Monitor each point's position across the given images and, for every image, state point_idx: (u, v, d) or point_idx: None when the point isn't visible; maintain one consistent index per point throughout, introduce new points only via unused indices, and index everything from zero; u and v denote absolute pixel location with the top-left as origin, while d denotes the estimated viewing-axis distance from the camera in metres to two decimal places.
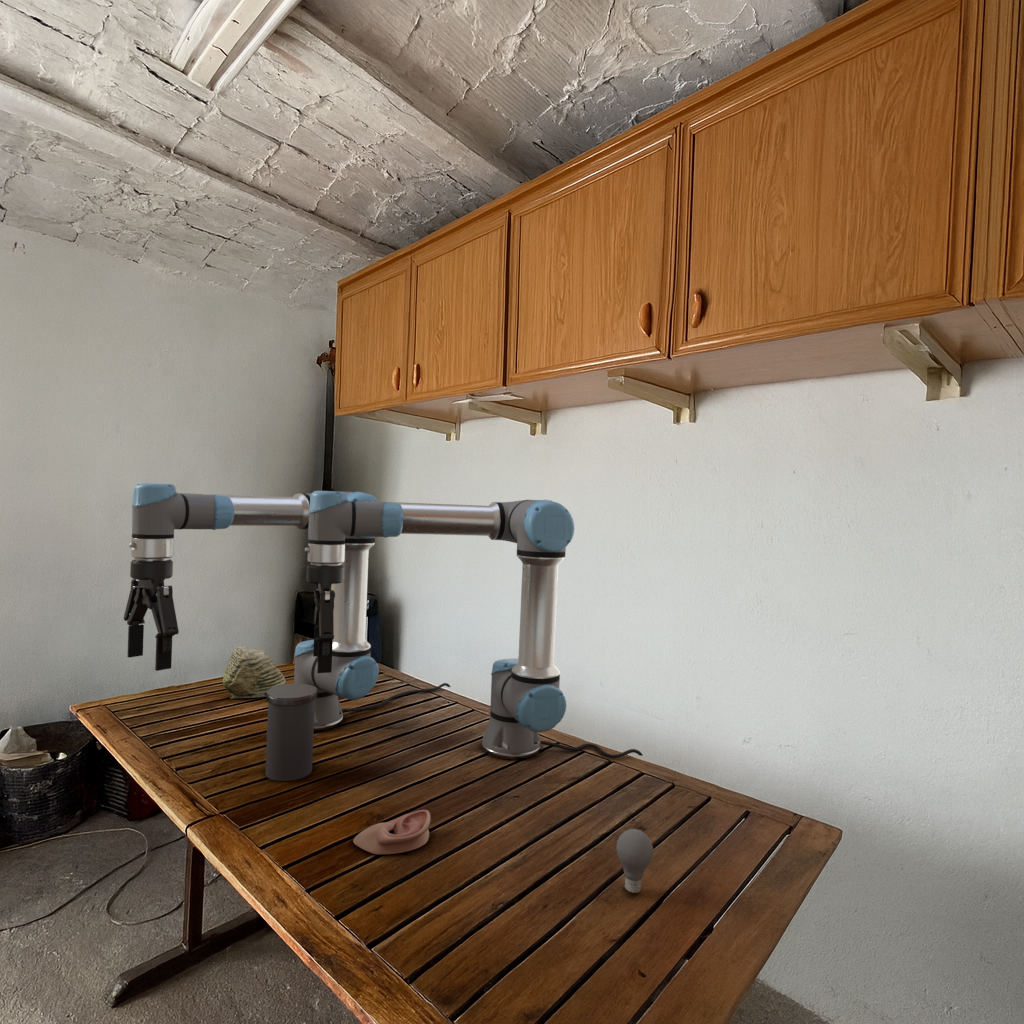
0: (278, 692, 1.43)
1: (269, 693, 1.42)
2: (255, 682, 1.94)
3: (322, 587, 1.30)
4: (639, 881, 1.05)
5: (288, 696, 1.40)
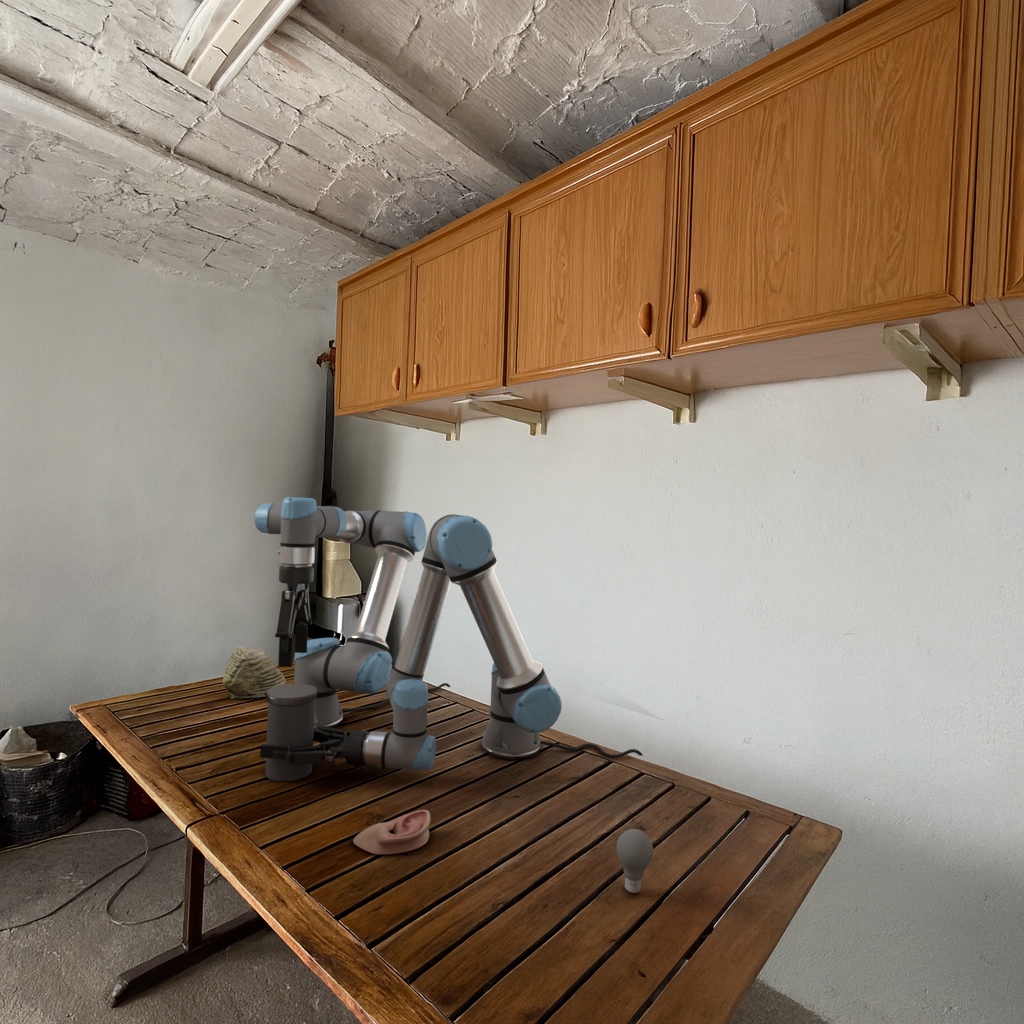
0: (278, 692, 1.43)
1: (269, 693, 1.42)
2: (255, 682, 1.94)
3: None
4: (639, 881, 1.05)
5: (288, 696, 1.40)
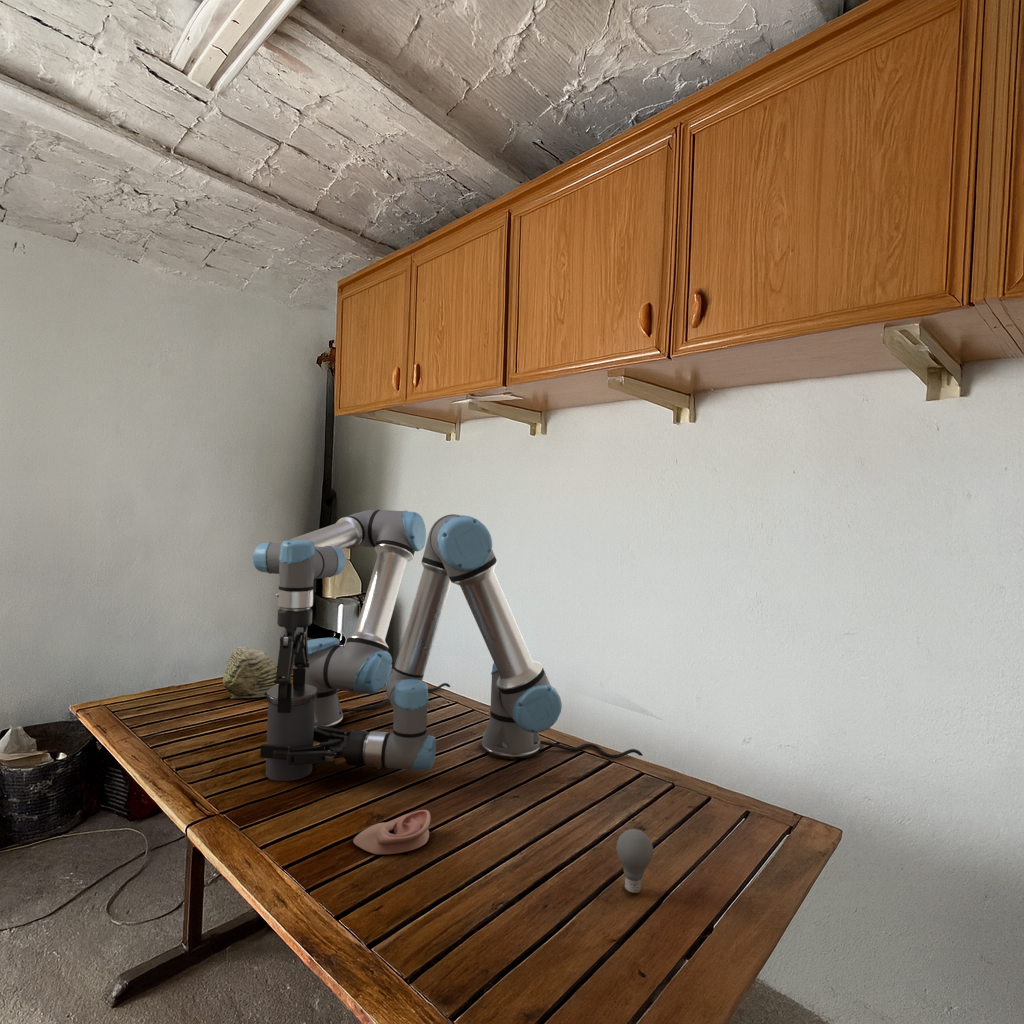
0: None
1: (269, 693, 1.42)
2: (255, 682, 1.94)
3: None
4: (639, 881, 1.05)
5: None
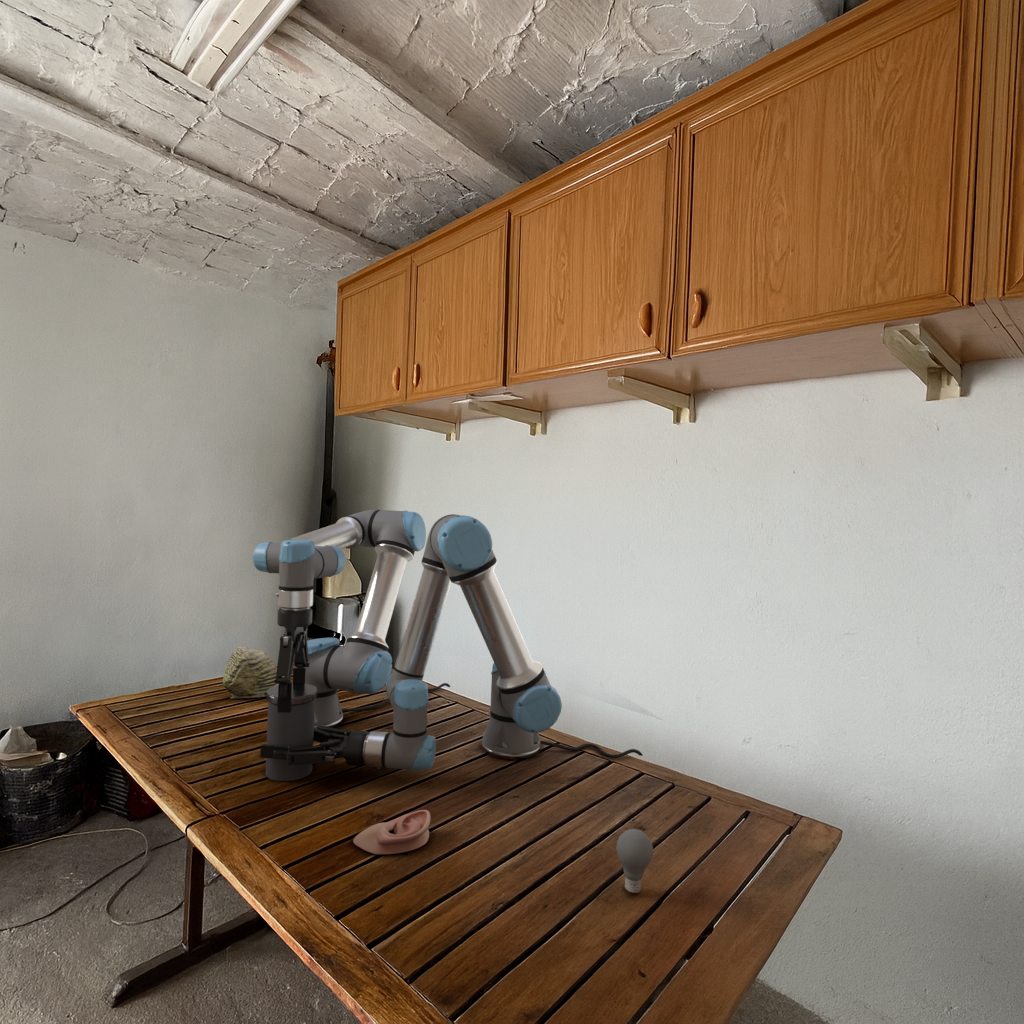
0: (296, 693, 1.42)
1: (297, 696, 1.41)
2: (255, 682, 1.94)
3: None
4: (639, 881, 1.05)
5: (311, 690, 1.45)
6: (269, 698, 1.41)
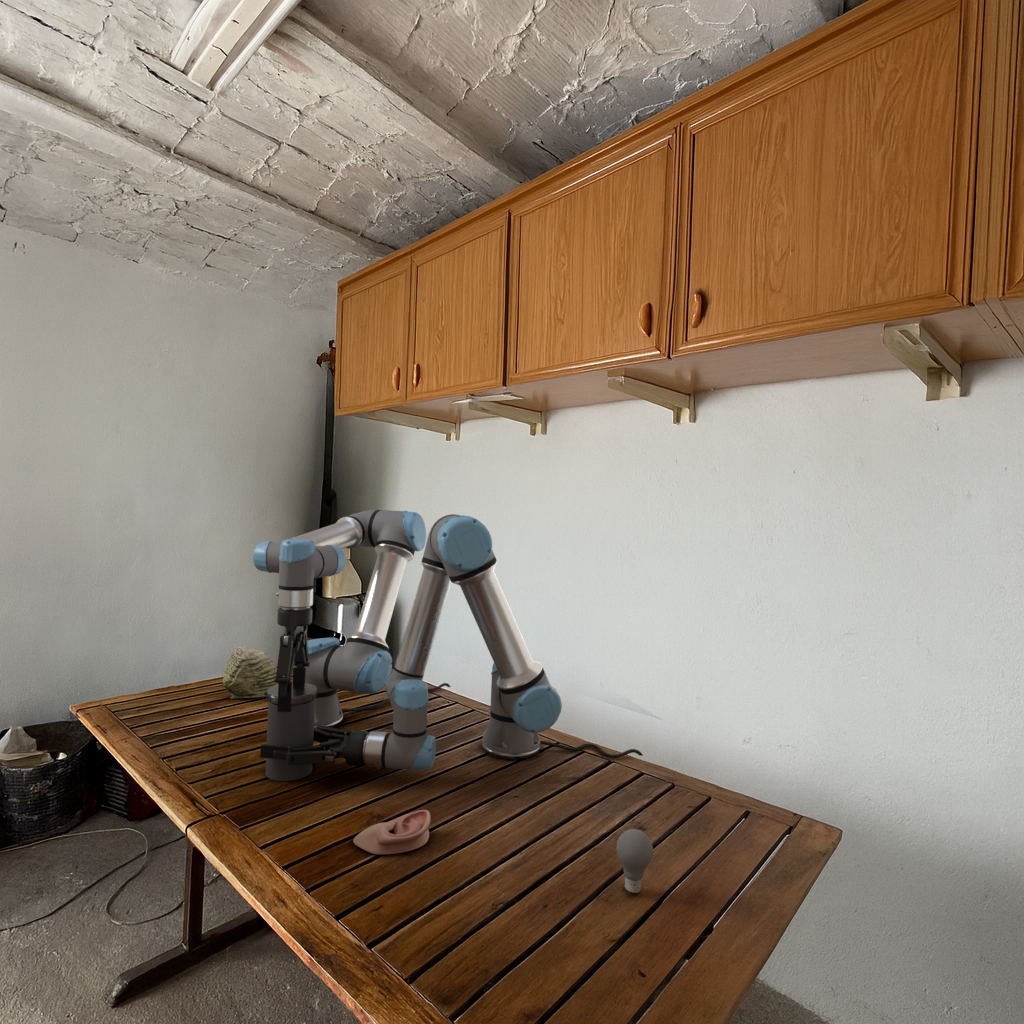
0: (305, 687, 1.46)
1: (314, 687, 1.47)
2: (255, 682, 1.94)
3: None
4: (639, 881, 1.05)
5: (297, 683, 1.49)
6: (303, 699, 1.41)
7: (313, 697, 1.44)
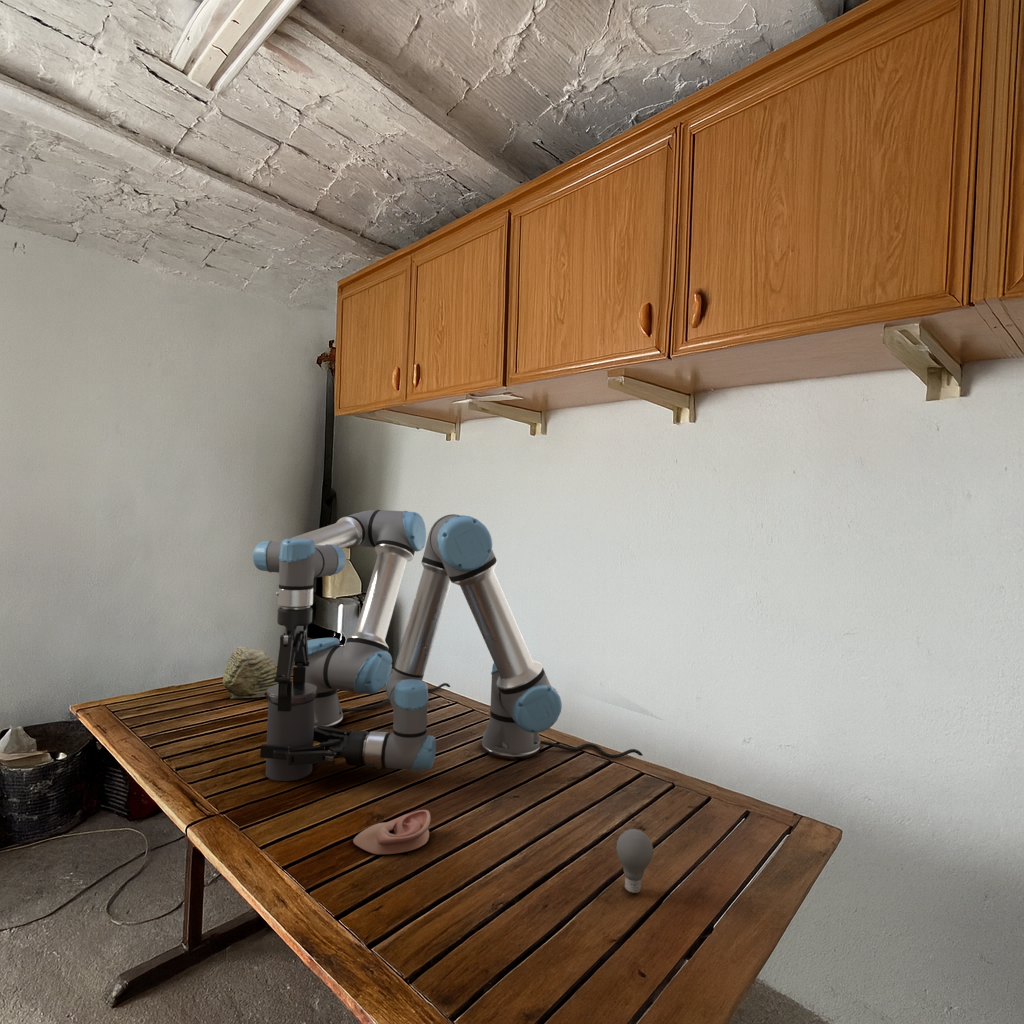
0: None
1: None
2: (255, 682, 1.94)
3: None
4: (639, 881, 1.05)
5: (272, 688, 1.45)
6: None
7: None
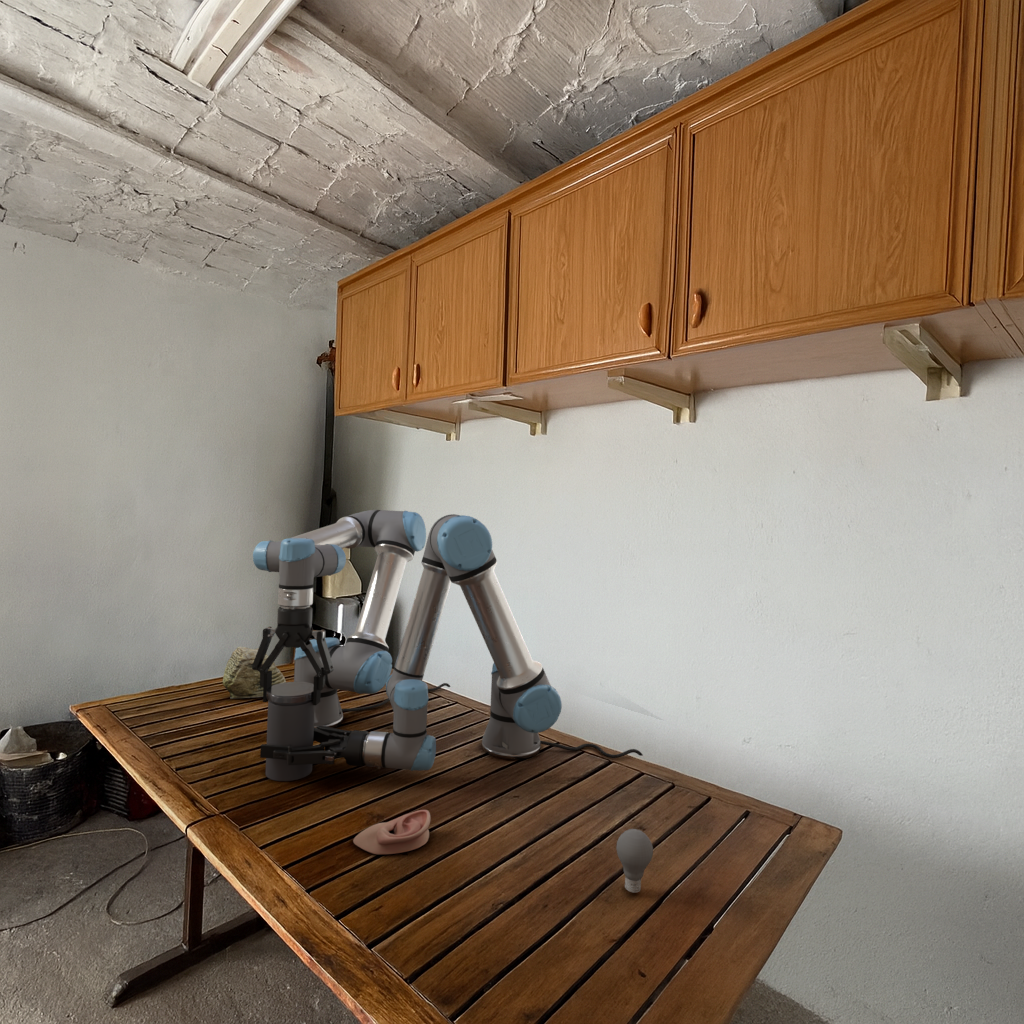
0: (278, 689, 1.44)
1: (269, 690, 1.43)
2: (255, 682, 1.94)
3: None
4: (639, 881, 1.05)
5: (284, 694, 1.40)
6: None
7: None
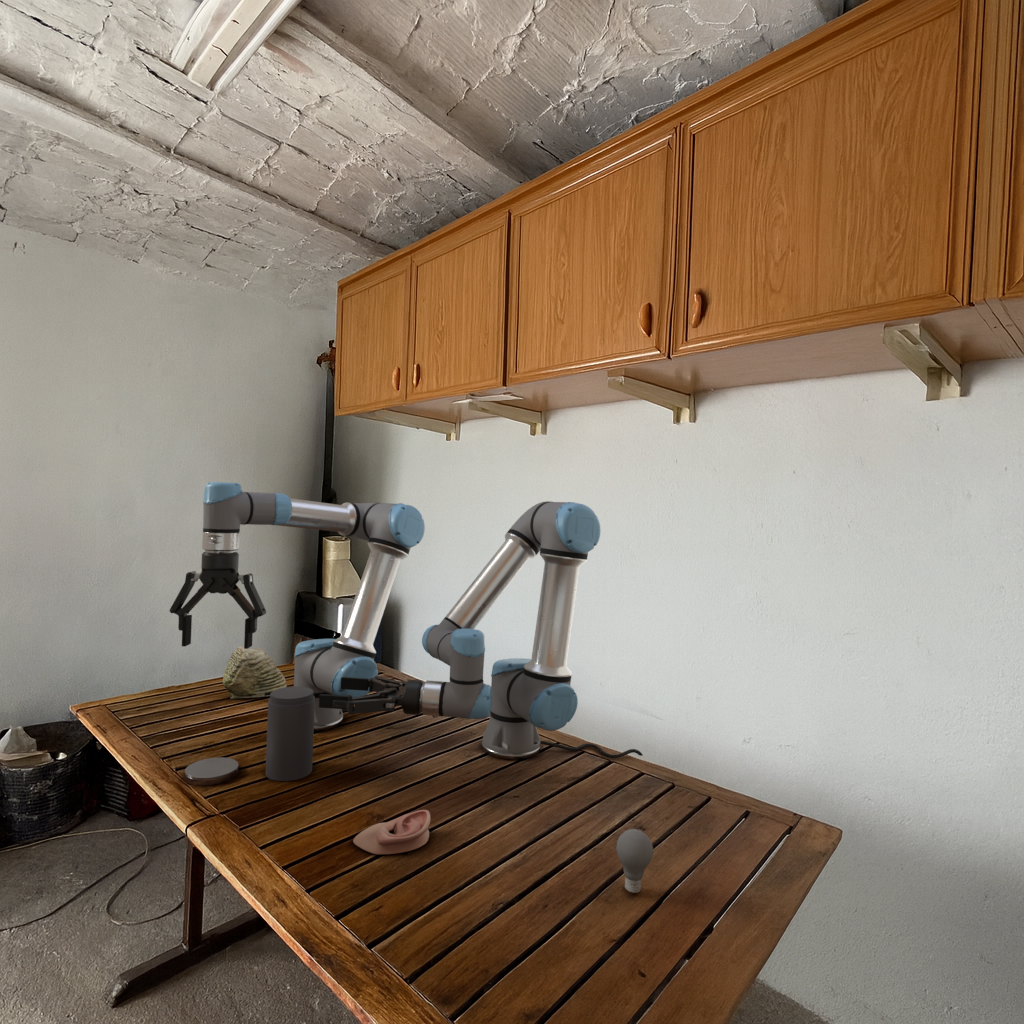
0: (196, 769, 1.40)
1: (187, 770, 1.40)
2: (255, 682, 1.94)
3: None
4: (639, 881, 1.05)
5: (202, 775, 1.37)
6: None
7: None
